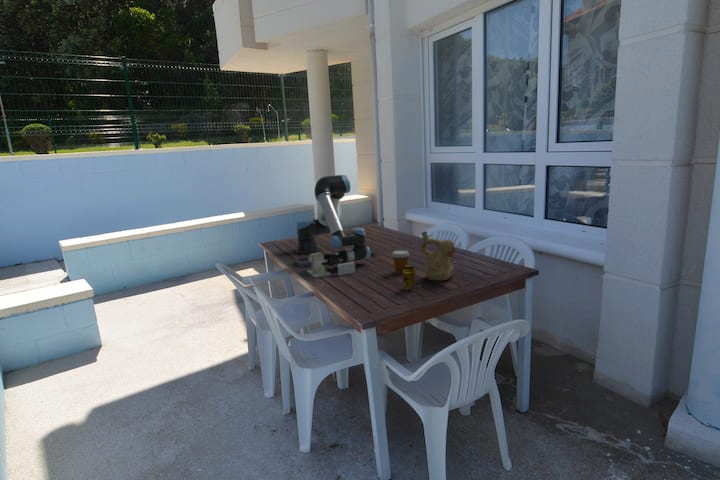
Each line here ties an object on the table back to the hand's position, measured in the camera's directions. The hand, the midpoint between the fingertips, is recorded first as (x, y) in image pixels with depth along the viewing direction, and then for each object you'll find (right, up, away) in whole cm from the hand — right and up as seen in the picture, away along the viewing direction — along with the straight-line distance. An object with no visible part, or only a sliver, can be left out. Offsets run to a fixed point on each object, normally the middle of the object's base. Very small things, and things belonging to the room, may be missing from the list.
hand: (312, 262), depth 249 cm
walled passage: (+15, -4, +8) cm, 18 cm away
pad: (+3, -6, +3) cm, 8 cm away
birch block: (+3, -6, +3) cm, 8 cm away
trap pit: (-5, -2, +23) cm, 23 cm away
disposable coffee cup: (+51, -6, -6) cm, 52 cm away
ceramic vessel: (+70, -8, -18) cm, 73 cm away
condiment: (+54, -12, -32) cm, 64 cm away
